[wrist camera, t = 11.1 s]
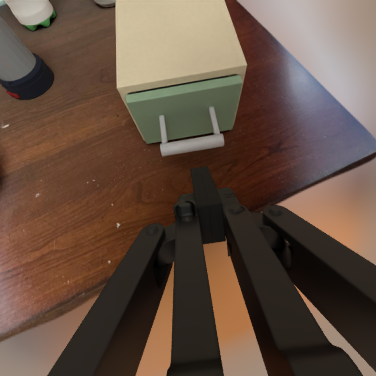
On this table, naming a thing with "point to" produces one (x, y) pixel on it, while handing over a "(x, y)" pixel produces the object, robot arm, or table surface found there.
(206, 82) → the drawer
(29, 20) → the cup
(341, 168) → the table surface
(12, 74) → the humidifier
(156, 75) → the cabinet
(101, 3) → the can
